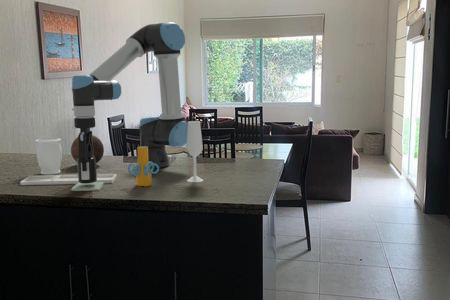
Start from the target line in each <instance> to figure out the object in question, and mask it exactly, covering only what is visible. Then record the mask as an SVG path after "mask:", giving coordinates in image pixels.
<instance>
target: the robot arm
mask: <svg viewBox="0 0 450 300" xmlns="http://www.w3.org/2000/svg"><path fill="white" fill-rule="evenodd" d="M185 44H186V36H185V32H184V30H183V28H182V27H180V24H178V23H175V22H167V21H165V22H159V23H150V24H147V25H145V26H142V27H141V28H139V29H137V30H136V31H135V32H134V33H133V34H131V35H130V36H129V37H128V38H127V39H126V41H125V44H123V45H122V46H121V47H120V48H119V49H117V50H116V51H115V52H114V53H113V54H112V55H111V56H109V57H108V58H106V60H105V61H103V62H102V63H101V64H100V65H99V66H97V68H95V69H94V70H93V71H92V72H90V74H89V73H88V75H85V74H84V75H83V74H82V75H73V77H71V92H72V103H73V105H72V106H73V108H71V111H73V116H74V117H75V118H73V122H74V128H75V129H80V131H79V133H78V135H77V137H78V140H79V161H78V162H79V163H81V176H82V180H89V162H88V150H92V151H93V141H92V135H93V130H91V129H93V128H95V127H96V117H95V116H96V111H95V110H96V109H95V101H113V100H118V99H119V98H120V97H121V95H122V85H121V84H120V83H119V81H117V80H114V78H115V77H117V76H118V75H119V74H121V72H122V71H124V70H125V69H126V68H127V67H128V66H130V64H131V63H132V62H134V61H135V60H136V59H137V58H142V57H143V56H144V55H145V54H148V53H152V52H153V57H155V58H156V59H157V66H158V67H157V69H158V79H159V81H158V83H159V91H160V104H161V105H160V106H161V114H160V116H152V117H143V118H141V119H140V120H139V141H140V143H139V144H140V145H139V147H140V146H147V147H148V162H153V163H155V164H157V165H158V166H159V169H160V168H166V167H169V166H170V158H169V156H168V153H167V150H166V147H167V146H168V147H173V148H176V147H177V148H180V147H181V148H182V147H184V146H185V145H187V132H188V122H189V121H186V116H185V115H184V113H182V105H181V92H180V77H179V75H180V74H179V65H178V64H179V63H178V58H179V57H180V56H181V50H182V49H183V48H184V47H185ZM93 155H94V154H93ZM92 157H94V158H95V156H92ZM83 158H84V159H83ZM136 163H137V164H136V165H138V160H137V161H136ZM150 164H151V163H150ZM150 164H149V165H150ZM150 169H152V166H151V167H150ZM154 169H157V167H156V166H155V165H154Z"/></svg>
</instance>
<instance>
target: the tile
mask: <svg viewBox="0 0 450 300" xmlns="http://www.w3.org/2000/svg"><path fill="white" fill-rule="evenodd" d="M104 185H105V183H104V182H94V183H87V184H83V183H77V184H74V186H72V188H70V189H71V192H82V191H85V192H87V191H88V192H89V191H92V192H93V191H100V189H102V187H103V186H104Z"/></svg>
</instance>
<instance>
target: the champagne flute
mask: <svg viewBox="0 0 450 300" xmlns="http://www.w3.org/2000/svg"><path fill="white" fill-rule="evenodd" d="M187 122H188V132H187V143H186V144H185V145H186V146H185V147H186V149H185V150H186V152H187V154H189V155H190V156H191V157H192V159H193V160H192V168H193V171H192V172H193V174H192V175H193V176H191V177H190V178H188V179H187V180H186V181H187V182H188V183H201V182H203V181H204V179H202V178H200V176H198V175H197V157H198V156H199V155H200V154H201V153H202V152H203V150H204V149H203V146H204V145H203V137H202V130H201V129H202V127H201V121H199V120H197V121H196V120H191V121H187Z"/></svg>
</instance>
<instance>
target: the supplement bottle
mask: <svg viewBox="0 0 450 300" xmlns="http://www.w3.org/2000/svg"><path fill="white" fill-rule="evenodd" d="M92 156H93V151H92V150H88V162H89V180H82V176H81V163H79V162H78V161H79V159H78V160H77V162H76V165H77V175H78V181H79V183H83V184H87V183H94V182H96V181H97V174H98V173H97V163H96V159H95V158H94V157H92ZM83 159H84V158H83Z"/></svg>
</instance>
